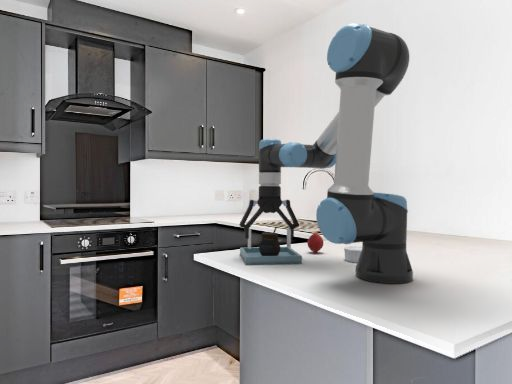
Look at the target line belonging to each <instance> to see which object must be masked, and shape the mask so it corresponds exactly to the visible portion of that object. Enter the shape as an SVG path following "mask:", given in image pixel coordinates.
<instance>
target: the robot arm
mask: <svg viewBox="0 0 512 384" xmlns="http://www.w3.org/2000/svg"><path fill="white" fill-rule="evenodd" d="M326 61H327V65H328V67H329V69H330V70H331V71H333V72H335V81H334V83H335V84H336V85H337V87H338V88H339V90H340V93H339V94H340V95H339V108H338V109H339V110H338V112H337V113H336V114H335V116H334V117H333V119H332V120H331V121H330V123H329V124H328V125H327V127H326V128H325V129H324V130H323V131H322V133H321V135H320V136H319V137H318V139H317V140H316V141H315V142H314V143H313V144H303V143H300V142H290V141H289V142H286V143H282V141H281V140H280V139H277V138H267V139H265V138H264V139H261V140H260V141H259V143H258V144H259V146H258V184H259V186H258V199H257V200H255V199H249V201H248V206H247V208H246V211H245V213H244V214H243V216H242V218H241V220H240V223H239V227H241V228H243V230H244V238H245V239H247V247H248V248H249V249H251V247H252V229H251V226H252V225H254V223H255V221H257V219H258V218H259V217H260V216H261V215H262V214H263V213H265V214H269V213H270V214H275V213H277V214H278V216H280V218H281V219H282V220H283V222H284V223H285V224H286V225H287V226H288V227H287V228H286V247H288V248H291V249H292V247H291V246H292V245H291V244H292V239H294V236H295V231H294V230H295V228H298V227H300V224H299V221H298V219H297V217H296V215H295V213H294V211H293V208H292V206H291V200H290V199H283V200H282V195H281V194H282V192H281V191H282V190H281V189H282V187H281V186H280V185H281V184H282V168H300V169H301V168H302V169H303V168H305V169H306V168H309V169H319V170H320V169H322V170H323V169H330V168H333V167H334V176H333V177H334V179H333V183H332V185H331V186H330V187H329V188H328V189H327V191H326V193H327V195H326V198H325V199H323V200H321V201H320V203H319V204H318V206H317V209H316V217H315V218H316V224H317V227H318V230H319V231H320V232H321V234H322V236H323V237H324V238H325V239H326V240H327V241H328V242H331V243H332V244H335V245H336V244H337V245H338V244H339V245H340V244H341V245H350V244H353V243H354V244H355V243H362V245H361V246H362V251H361V254H360V256H359V259H358V262H357V263H356V265H355V277H357V278H358V279H361V280H364V281H366V282H367V281H368V282H373V283H380V284H405V283H406V284H407V283H410V282H412V281H413V279H414V271H413V268H412V264H411V261H410V258H409V255H408V252H407V240H408V239H407V236H408V234H407V230H408V212H409V210H408V201H407V199H406V197H405V196H403V195H399V194H394V193H383V192H374V191H373V190H372V189H371V188H370V186H369V181H370V169H371V158H372V157H371V156H372V143H373V131H374V119H375V118H374V117H375V107H377V106H378V104H379V103H380V102H381V101H382V99H383V98H384V97H385V96H390V95H392V94H393V93H394V91H395V90H396V89H397V88H398V86H399V85H400V84H401V82H402V80H403V79H404V78H405V75H406V73H407V71H408V68H409V65H410V51H409V47H408V45H407V43H406V41H405V40H404V39H403V38H402V37H401V36H399V35H397V34H395V33H392V32H388V31H384V30H381V29H379V28H375V27H371V26H369V25H368V24H361V23H355V22H354V23H353V22H352V23H348V24H346V25H344V26H342V27H341V28H340V29H338V31H337V32H336V33H335V35H334V36H333V37H332V39H331V40H330V43H329V45H328V49H327V53H326ZM256 205H257V206H258V207H259V208H258V209H257V210H256V212H255V213H254V214H253V216H251V218H249V216H250V214H251V213H252V210H253V208H254V207H256ZM282 205H283V206H284V207H285V208H286V211H287V212H288V215H289V217H290V219H291V220H289V218H288V217H287V216H286V215H285V213H284V212H283V210H282V209H281V208H280V207H281V206H282ZM248 218H249V220H248ZM247 220H248V221H247ZM291 221H292V222H291Z"/></svg>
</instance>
